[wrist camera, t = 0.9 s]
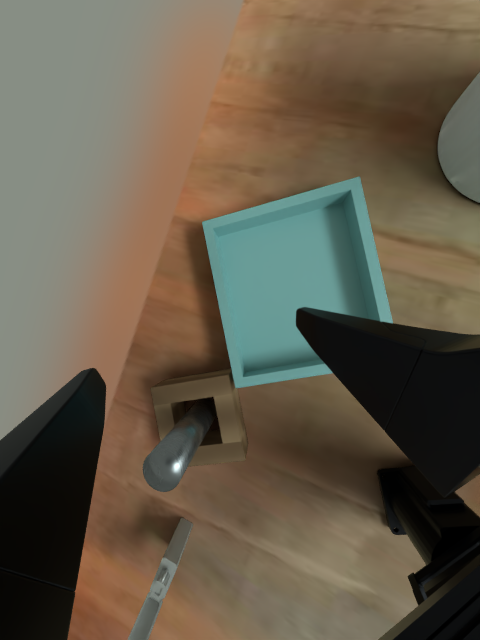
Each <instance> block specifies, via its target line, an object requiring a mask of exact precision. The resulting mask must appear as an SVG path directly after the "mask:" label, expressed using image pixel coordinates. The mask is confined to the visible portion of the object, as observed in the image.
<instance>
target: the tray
mask: <svg viewBox="0 0 480 640" xmlns="http://www.w3.org/2000/svg"><path fill="white" fill-rule="evenodd" d="M202 224H203V229H204V234H205V239H206V244H207V249H208V254H209V259H210V264H211V269H212V274H213V279H214V284H215V289H216V294H217V299H218V304H219V309H220V314H221V319H222V324H223V329H224V334H225V339H226V344H227V349H228V354H229V359H230V364H231V369H232V374H233V379H234V384H235V388H241V387H247V386H254V385H260V384H266V383H273V382H279V381H285V380H292V379H298V378H304V377H311V376H317V375H323V374H330V373H333V372H332V371H331V370H330V369H329V368H328V367H327V366H326V364H325V363H324V362H323V361H322V360H321V359H320V358H319V357H318V355H317V354H316V353H315V352H314V351H313V349H312V348H311V347H310V345H309V344H308V343H307V341H306V340H305V338H304V337H303V336H302V334H301V333H300V331H299V330H298V329H297V327H296V310H297V309H299V308H302V307H308V308H314V309H319V310H324V311H330V312H335V313H340V314H346V315H351V316H356V317H362V318H367V319H372V320H377V321H381V322H382V321H383V322H388V323H393V321H392V317H391V313H390V308H389V304H388V299H387V295H386V290H385V286H384V282H383V277H382V273H381V268H380V264H379V259H378V255H377V251H376V246H375V242H374V237H373V233H372V228H371V224H370V220H369V215H368V211H367V206H366V202H365V197H364V193H363V189H362V184H361V180H360V176H359V177H356V178H352V179H349V180H346V181H342V182H339V183H335V184H332V185H328V186H325V187H321V188H318V189H314V190H311V191H307V192H304V193H301V194H297V195H294V196H290V197H287V198H283V199H280V200H276V201H273V202H269V203H266V204H262V205H259V206H255V207H252V208H249V209H245V210H242V211H238V212H235V213H231V214H228V215H224V216H221V217H217V218H214V219H210V220H207V221H204V222H202Z"/></svg>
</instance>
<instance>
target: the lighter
mask: <svg viewBox="0 0 480 640" xmlns="http://www.w3.org/2000/svg"><path fill="white" fill-rule="evenodd" d="M192 527H193V524H192V523H191V522H189V521H188V520H186V519H184V518H181V519H180V521H179V523H178V525H177V528H176V530H175V532H174V534H173V536H172V539H171V541H170V543H169V545H168V548H167V550H166V552H165V554H164V556H163V559H162V561H161V564H160V566H159V568H158V571H157V573H156V576H155V578H154V580H153V583H152V585H151V588H150V592H149V593H148V595H147V597H146V599H145V601H144V604H143V606H142V608H141V611H140V613H139V615H138V617H137V620H136V622H135V624H134V627H133V629H132V631H131V633H130V636H129V638H128V640H148V639H149V636H150V633H151V631H152V628H153V626H154V623H155V621H156V618H157V616H158V613H159V610H160V608H161V605H162V603H163V601H162V599H164V598H165V595H166V593H167V591H168V588H169V586H170V583H171V581H172V579H173V576H174V574H175V572H176V569H177V567H178V564H179V561H180V559H181V556H182V553H183V551H184V548H185V545H186V543H187V540H188V537H189V535H190V532H191V529H192Z"/></svg>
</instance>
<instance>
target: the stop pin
mask: <svg viewBox="0 0 480 640" xmlns="http://www.w3.org/2000/svg"><path fill="white" fill-rule="evenodd" d="M216 415H217V411H216V406H215V404H214V403H213V402H212V401H211V400H209V399H206V398H202V399H199V400H198V401H197V402H196V403H195V404H194V405H193V406H192V407H191V408H190V409H189V411H188V412H187V413H186V414H185V415H184V416H183V417H182V418H181V419H180V421H179V422H178V423H177V424H176V425H175V426H174V427H173V428H172V429H171V431H170V432H169V433H168V434H167V435H166V436H165V437H164V438H163V439H162V441H161V442H160V443H159V444H158V445H157V446H156V447H155V448H154V449H153V451H152V452H151V453H150V454H149V455H148V456H147V457H146V459H145V461H144V464H143V474H144V477H145V480H146V481H147V483H148V484H149V485H150V486H151V487H152V488H153V489H155V490H157V491H161V492H167V491H170V490H172V489H174V488H175V487H176V486H177V485H178V483H179V481H180V480H181V478H182V476H183V474H184V472H185V471H186V469H187V467H188V465H189V464H190V462H191V460H192V458H193V456H194V455H195V453H196V451H197V449H198V447H199V446H200V444H201V442H202V440H203V439H204V437H205V435H206V433H207V431H208V430H209V428H210V426H211V424H212V423H213V421H214V419H215V417H216Z"/></svg>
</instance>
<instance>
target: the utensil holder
mask: <svg viewBox="0 0 480 640" xmlns="http://www.w3.org/2000/svg"><path fill="white" fill-rule="evenodd" d="M438 156H439V161H440V165H441V167H442V170H443V172H444V174H445V176H446V177H447V179H448V180H449V182H450V183H451V184H452V185H453V186H454V187H455V188H456V189H457V190H458V191H459V192H461V193H462V194H463V195H465V196H466V197H468V198H470V199H472V200H474V201H476V202H478V203H480V72H479V73H478V75H477V76H476V77H475V78H474V80H473V81H472V82H471V83H470V85H469V86H468V87H467V88H466V90H465V91H464V92H463V93H462V95H461V96H460V97H459V99H458V100H457V101H456V102H455V104H454V105H453V107H452V108H451V110H450V111H449V113H448V114H447V116H446V118H445V120H444V122H443V124H442V127H441V130H440V133H439V139H438Z"/></svg>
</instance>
